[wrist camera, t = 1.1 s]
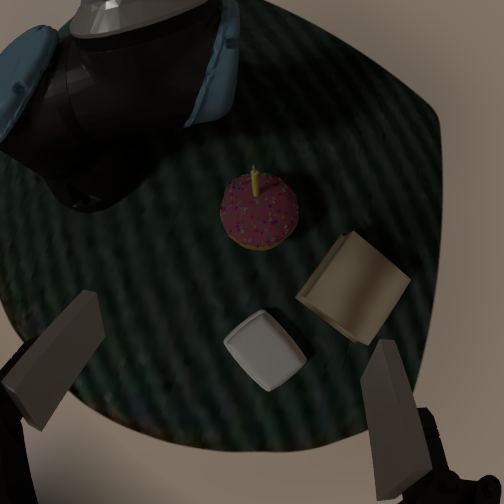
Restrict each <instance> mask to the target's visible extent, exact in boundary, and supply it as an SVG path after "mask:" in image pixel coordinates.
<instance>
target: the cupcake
mask: <svg viewBox="0 0 504 504" xmlns="http://www.w3.org/2000/svg"><path fill="white" fill-rule="evenodd" d="M252 167H253V170H252V171H251V174H247V173H246V174H245V175H242V176H239V177H238V178H237V179H233V180H232V182H230V184H229V185H228V187H226V189H225V194H224V198H223V201H222V205H221V211H220V216H221V220H222V223H223V225H224V228H225V230H226V231H227V234H228V235H229V237H230V238H232V239H233V240H234V241H236V242H237V243H238V244H240V245H241V246H243V247H244V248H247V249H253V250H261V251H263V250H268V249H271V248H274V247H275V246H277V245H279V244H280V243H281V242H283V241H284V240H285V239H286V238H287V237H288V236H289V235H290V234H291V233H292V232H293V231H294V229H295V227H296V225H297V223H298V218H299V215H298V212H299V211H298V208H299V206H298V205H297V200H296V194H294V192H293V191H292V190H291V188H290V187H289V186H288V185H287V184H285V183H284V182H283V181H282V180H281V179H280V177H276V176H274V175H271V174H268V173H260V172H258V171H257V170H256V169H255V166H254V165H253V166H252Z"/></svg>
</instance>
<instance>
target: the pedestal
mask: <svg viewBox="0 0 504 504" xmlns="http://www.w3.org/2000/svg"><path fill="white" fill-rule="evenodd" d="M410 280H411V279H410V278H409V277H407V276H406V275H405V274H404V273H403V272H402V271H401V270H400V269H398V268H397V267H396V266H395V265H394V264H393V263H391V262H390V261H389V260H388V259H387V258H386V257H384V256H383V255H382V254H381V253H380V252H379V251H377V250H376V249H375V248H374V247H373V246H371V245H370V244H369V243H368V242H367V241H365V240H364V239H363V238H362V237H361V236H359V235H358V234H357V233H356V232H354V231H352V232H351V233H349V234H347V235H346V236H343V235H342V234H341V235H340V236H339V238H338V239H337V240H336V242H335V243H334V245H333V246H332V247H331V249H330V250H329V252H328V253H327V254H326V256H325V257H324V259H323V260H322V261H321V263H320V264H319V265H318V267H317V268H316V270H315V271H314V272H313V274H312V275H311V276H310V278H309V279H308V280H307V282H306V283H305V284H304V286H303V287H302V288H301V290H300V291H299V292H298V294H297V295H296V296H295V298H296V299H297V300H299V301H300V302H301V303H303V304H304V305H305V306H306V307H308V308H309V309H310V310H312V311H313V312H314V313H316V314H317V315H318V316H320V317H321V318H322V319H323V320H325V321H326V322H327V323H329V324H330V325H331V326H333V327H334V328H335V329H337V330H338V331H339V332H341V333H342V334H343V335H344V336H346V337H347V338H348V339H350V340H351V341H352V342H354V343H356V342H357V341H359V342H361V343H363V344H366V345H369V344H370V342H371V341H372V339H373V338H374V337H375V335H376V334H377V332H378V331H379V329H380V328H381V326H382V325H383V323H384V322H385V320H386V319H387V317H388V316H389V314H390V313H391V311H392V310H393V308H394V306H395V305H396V303H397V302H398V300H399V299H400V297H401V295H402V294H403V292H404V290H405V289H406V287H407V285H408V284H409V282H410Z"/></svg>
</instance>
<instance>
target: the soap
mask: <svg viewBox="0 0 504 504" xmlns="http://www.w3.org/2000/svg"><path fill="white" fill-rule="evenodd" d="M224 344H225V346H226V347H227V349H228V350H229V352H230V353H231V354H232V356H233V357H234V358H235V360H236V361H237V362H238V363H239V365H240V366H241V367H242V368H243V369H244V370H245V371H246V373H247V374H248V375H249V376H250V377H251V378H252V379H253V380H254V381H255V382H257V383H258V384H259V385H260V386H261V387H262V388H263V389H265V390H266V391H271V390H273V389H275V388H277V387H278V386H280V385H281V384H283V383H284V382H285V381H287V380H288V379H289V378H290V377H292V376H293V375H294V374H295V373H296V372H297V371H298V370H299V369H300V368H301V367H302V366H303V365H304V364H305V363H306V357H305V355H304V354H303V352H302V351H301V350H300V348H299V347H298V346H297V344H296V343H295V342H294V340H293V339H292V338H291V337H290V335H289V334H288V333H287V332H286V331H285V330H284V329H283V327H282V326H281V325H280V324H279V323H278V322H277V321H276V320H275V319H274V318H273V317H272V316H271V315H270V314H269V313H268V312H267V311H265V310H263V309H261V310H259V311H257V312H256V313H254V314H252V315H251V316H249V317H248V318H247V319H246V320H244V321H243V322H242V323H241V324H239V325H238V326H237V327H236V328H235V329H234V330H233V331H232V332H231V333H230V334H229V335H228V336H227V337H226V338H225V339H224Z"/></svg>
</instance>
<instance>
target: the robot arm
mask: <svg viewBox="0 0 504 504" xmlns="http://www.w3.org/2000/svg"><path fill="white" fill-rule="evenodd" d="M70 31H71V34H69V35H67V36H64V37H59V36H58V32H57V30H56V29H53V28H51V27H50V26H46V25H39V26H36V27H33V28H31V29H29V30H27V31H26V32H24V33H23V34H22V35H20V36H19V37H18V38H16V39H15V40H14V41H13V42H12V43H10V44H9V45H8V46H7V47H6V48H5V49H4V50H3V51H2V53H1V54H0V150H1V151H2V152H4V153H5V154H7V155H9V156H10V157H12V158H13V159H15V160H16V161H18V162H20V163H21V164H23V165H24V166H26V167H28V168H29V169H31V170H32V171H34V172H36V173H37V174H39V175H41V176H42V177H43V178H44V180H45V182H46V183H47V185H48V187H49V188H50V190H51V192H52V193H53V195H54V196H55V197H56V199H57V200H58V201H59V202H61V203H62V204H63V205H65V206H67V207H69V208H71V209H73V210H75V211H78V212H84V213H90V212H96V211H100V210H103V209H105V208H107V207H109V206H111V205H113V204H114V203H116V202H117V201H118V200H119V199H121V198H122V197H123V196H124V195H125V194H126V193H127V192H128V191H129V189H130V188H131V187H132V185H133V184H134V182H135V181H136V179H137V177H138V175H139V173H140V171H141V168H142V165H143V161H144V153H145V148H144V141H143V138H142V135H141V133H144V132H151V131H157V130H164V129H171V128H178V127H183V128H186V127H189V126H191V125H192V124H197V123H203V122H209V121H214V120H218V119H220V118H222V117H223V116H225V115H226V114H227V113H228V112H229V111H230V109H231V107H232V104H233V101H234V96H235V91H236V83H237V73H238V60H239V49H238V44H239V32H240V20H239V8H238V4H237V2H236V1H235V0H81V5H80V7H79V9H78V10H77V12H76V14H75V16H74V18H73V20H72V22H71V24H70ZM104 338H105V332H104V328H103V323H102V319H101V314H100V309H99V304H98V299H97V293H95V292H91V291H87V290H83V291H82V292H81V293H80V294H79V295H78V296H77V297H76V298H75V299H74V300H73V301H72V302H71V303H70V304H69V305H68V307H67V308H66V309H65V310H64V311H63V312H62V313H61V314H60V315H59V316H58V317H57V318H56V319H55V320H54V321H53V322H52V323H51V325H50V326H49V327H48V328H47V329H46V330H45V331H44V332H43V333H42V334H41V336H40V337H39V338H38V339H35V338H32V339H30V340H28V341H27V342H25V343H24V344H23V345H22V346H21V347H20V348H19V349H18V351H17V352H16V353H15V354H14V355H13V356H12V358H10V359H9V361H8V362H7V363H6V364H5V365H4V367H3V368H2V369H1V370H0V504H38V501H37V497H36V494H35V490H34V486H33V482H32V478H31V473H30V469H29V464H28V458H27V454H26V448H25V442H24V435H23V427H22V424H21V421H20V420H21V419H22V417H24V418H25V420H26V422H27V423H28V424H29V425H31V426H32V427H34V428H36V429H37V430H39V431H41V432H42V430H43V429H44V427H45V425H46V424H47V422H48V420H49V419H50V417H51V416H52V414H53V413H54V411H55V409H56V408H57V406H58V405H59V403H60V402H61V400H62V399H63V397H64V396H65V394H66V392H67V391H68V390H69V388H70V387H71V385H72V384H73V382H74V381H75V379H76V378H77V376H78V375H79V373H80V372H81V370H82V369H83V367H84V366H85V365H86V363H87V362H88V360H89V359H90V357H91V356H92V355H93V353H94V352H95V350H96V349H97V347H98V346H99V345H100V343H101V342H102V340H103V339H104ZM360 382H361V387H362V393H363V399H364V405H365V411H366V417H367V423H368V430H369V437H370V444H371V452H372V459H373V467H374V476H375V486H376V497H377V501H382V500H390V499H395V498H397V497H398V496H399V495H401V494H402V496H403V500H402V501H401V502H399V503H398V504H500V497H501V484H500V482H499V480H498V479H497V478H496V477H495V476H493V475H486V476H484V477H482V478H481V479H480V480H478V481H472V480H463V479H460V478H459V476H458V475H457V474H456V473H455V472H453V471H450V470H449V467H448V465H447V461H446V457H445V453H444V449H443V446H442V442H441V439H440V438H439V436H440V435H439V432H438V429H437V425H436V422H435V419H434V416H433V415H432V414H431V412H430V411H429V410H428V409H427V408H426V407H425V408H417V407H416V404H415V400H414V397H413V394H412V391H411V387H410V384H409V381H408V378H407V375H406V372H405V369H404V366H403V363H402V360H401V357H400V354H399V352H398V349H397V346H396V343H395V340H384V339H379V342H378V344H377V346H376V348H375V350H374V353H373V355H372V357H371V359H370V361H369V363H368V365H367V367H366V370H365V372H364V374H363V376H362V378H361V380H360Z"/></svg>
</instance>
